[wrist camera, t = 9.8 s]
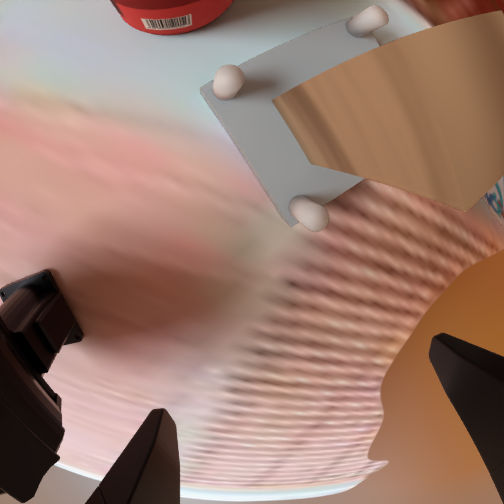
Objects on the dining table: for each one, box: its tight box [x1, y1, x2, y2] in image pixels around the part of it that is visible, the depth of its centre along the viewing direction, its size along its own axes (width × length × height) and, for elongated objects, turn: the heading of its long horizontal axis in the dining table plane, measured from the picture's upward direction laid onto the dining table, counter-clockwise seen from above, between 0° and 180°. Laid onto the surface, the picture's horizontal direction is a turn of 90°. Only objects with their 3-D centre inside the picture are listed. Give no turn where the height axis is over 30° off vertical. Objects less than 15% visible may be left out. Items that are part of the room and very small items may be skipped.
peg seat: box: [200, 5, 389, 232], centre depth 16 cm, size 12×10×5 cm
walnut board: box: [271, 11, 504, 212], centre depth 10 cm, size 6×4×12 cm
